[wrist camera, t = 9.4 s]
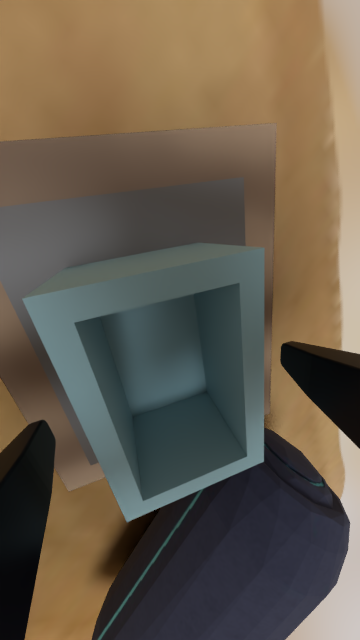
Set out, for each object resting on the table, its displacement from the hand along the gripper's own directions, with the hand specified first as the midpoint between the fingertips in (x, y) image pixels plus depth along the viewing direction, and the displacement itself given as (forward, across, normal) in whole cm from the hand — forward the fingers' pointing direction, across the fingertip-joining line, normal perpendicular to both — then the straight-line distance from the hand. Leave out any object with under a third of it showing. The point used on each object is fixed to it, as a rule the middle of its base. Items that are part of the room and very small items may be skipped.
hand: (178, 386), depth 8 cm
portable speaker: (+7, +1, +19) cm, 20 cm away
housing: (+4, 0, 0) cm, 4 cm away
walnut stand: (+7, 0, 0) cm, 7 cm away
